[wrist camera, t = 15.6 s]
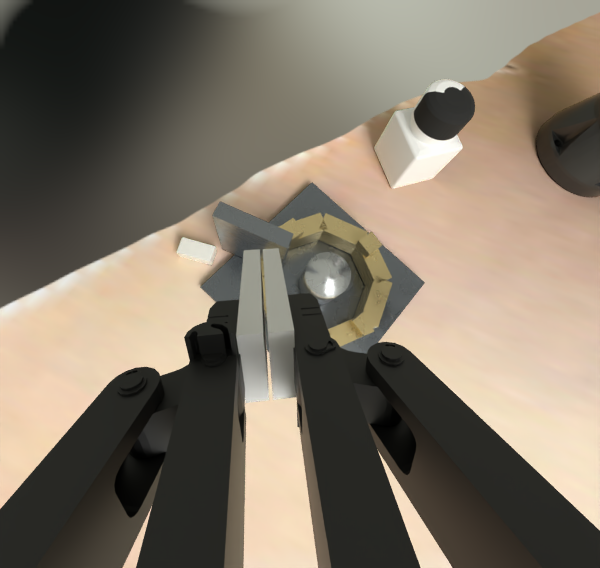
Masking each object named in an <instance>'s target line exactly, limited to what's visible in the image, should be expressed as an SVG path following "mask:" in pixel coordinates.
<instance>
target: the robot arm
mask: <svg viewBox="0 0 600 568" xmlns="http://www.w3.org/2000/svg"><path fill="white" fill-rule="evenodd" d="M537 152H538V155H539V158H540V161H541V163H542V165H543V167H544V168H545V170H546V171H547V173H548V174H549V175H550V176H551V177H552V179H553V180H554V181H555V182H557V183H558V184H559V185H560V186H562V187H563V188H565V189H566V190H568V191H570V192H572V193H574V194H577V195H580V196H584V197H598V196H600V93H598V94H596V95H594V96H592V97H590V98H587V99H585V100H583V101H581V102H579V103H577V104H574V105H572V106H570V107H568V108H566V109H564V110H562V111H560V112H558V113H557V114H556V115H554V116H553V117H552V118H551V119H549V120H548V121H547V122H546V123H544V124H543V125H542V127H541V128H540V130H539V132H538V135H537ZM263 262H264V278H265V294H266V310H267V326H268V340H269V353H270V365H271V378H272V391H273V400H275V399H283V398H292V397H296V396H297V421H298V427H299V428H300V435H301V443H302V450H303V457H304V465H305V472H306V480H307V487H308V495H309V502H310V509H311V517H312V524H313V532H314V539H315V546H316V554H317V561H318V568H420V565H419V562H418V560H417V557H416V554H415V551H414V549H413V546H412V543H411V541H410V538H409V535H408V532H407V530H406V527H405V524H404V521H403V519H402V516H401V513H400V510H399V508H398V505H397V502H396V499H395V497H394V494H393V491H392V488H391V486H390V483H389V480H388V477H387V475H386V472H385V469H384V466H383V464H382V461H381V458H380V456H379V453H378V451H379V452H380V454H381V456H382V457H383V459H384V460H385V462H386V463H387V465H388V467H389V468H390V470H391V471H392V473H393V475H394V476H395V478H396V479H397V481H398V482H399V484H400V486H401V487H402V489H403V490H404V492H405V493H406V495H407V497H408V498H409V500H410V501H411V503H412V504H413V506H414V508H415V509H416V511H417V512H418V514H419V515H420V517H421V519H422V520H423V522H424V523H425V525H426V526H427V528H428V530H429V531H430V533H431V534H432V536H433V537H434V539H435V541H436V542H437V544H438V545H439V547H440V548H441V550H442V552H443V553H444V555H445V556H446V558H447V559H448V561H449V563H450V564H451V566H452V567H453V568H600V531H599V530H598V529H597V528H596V527H595V526H594V525H593V524H592V523H591V522H590V521H589V520H588V519H587V518H586V517H585V516H584V515H583V514H581V513H580V512H579V511H578V510H577V509H576V508H575V507H574V506H573V505H572V504H571V503H570V502H569V501H568V500H567V499H566V498H565V497H564V496H562V495H561V494H560V493H559V492H558V491H557V490H556V489H555V488H554V487H553V486H552V485H551V484H550V483H549V482H548V481H547V480H546V479H544V478H543V477H542V476H541V475H540V474H539V473H538V472H537V471H536V470H535V469H534V468H533V467H532V466H531V465H530V464H529V463H528V462H527V461H525V460H524V459H523V458H522V457H521V456H520V455H519V454H518V453H517V452H516V451H515V450H514V449H513V448H512V447H511V446H510V445H509V444H508V443H506V442H505V441H504V440H503V439H502V438H501V437H500V436H499V435H498V434H497V433H496V432H495V431H494V430H493V429H492V428H491V427H490V426H488V425H487V424H486V423H485V422H484V421H483V420H482V419H481V418H480V417H479V416H478V415H477V414H476V413H475V412H474V411H473V410H472V409H471V408H469V407H468V406H467V405H466V404H465V403H464V402H463V401H462V400H461V399H460V398H459V397H458V396H457V395H456V394H455V393H454V392H453V391H452V390H450V389H449V388H448V387H447V386H446V385H445V384H444V383H443V382H442V381H441V380H440V379H439V378H438V377H437V376H436V375H435V374H434V373H433V372H431V371H430V370H429V369H428V368H427V367H426V366H425V365H424V364H423V363H422V362H421V361H420V360H419V359H418V358H417V357H416V356H415V355H413V354H412V353H411V352H410V351H409V350H408V349H406V348H405V347H403V346H401V345H398V344H396V343H390V342H381V343H376V344H374V345H372V346H371V347H370V348H369V350H368V351H367V353H359V352H353V351H348V350H345V349H343V348H341V347H340V346H339V344H338V343H337V341H336V340H334V339H333V338H331V337H330V334H329V331H328V328H327V325H326V322H325V320H324V317H323V314H322V311H321V308H320V306H319V303H318V300H317V299H316V298H315V297H314V296H313V295H312V294H310V293H304V294H292V295H287V290H286V284H285V279H284V274H283V269H282V263H281V258H280V253H279V248H274V249H263ZM184 338H185V342H186V346H187V351H188V355H189V359H190V362H189V365H187V366H185V367H183V368H182V369H179V370H177V371H174V372H171V373H168V374H165V375H162V376H160V374H159V373H158V372H157V371H156V370H155V369H153V368H149V367H139V368H134V369H131V370H128V371H126V372H124V373H122V374H120V375H118V376H117V377H116V378H114V379H113V380H112V381H111V382H110V383H109V384H108V385H107V386H106V387H105V388H104V390H103V391H102V392H101V393H100V394H99V395H98V397H97V398H96V399H95V400H94V401H93V402H92V404H91V405H90V406H89V407H88V408H87V409H86V410H85V412H84V413H83V414H82V415H81V416H80V417H79V419H78V420H77V421H76V422H75V423H74V424H73V426H72V427H71V428H70V429H69V430H68V431H67V433H66V434H65V435H64V436H63V437H62V438H61V439H60V441H59V442H58V443H57V444H56V445H55V446H54V448H53V449H52V450H51V451H50V452H49V453H48V455H47V456H46V457H45V458H44V459H43V460H42V461H41V463H40V464H39V465H38V466H37V467H36V468H35V470H34V471H33V472H32V473H31V474H30V475H29V477H28V478H27V479H26V480H25V481H24V482H23V483H22V485H21V486H20V487H19V488H18V489H17V490H16V492H15V493H14V494H13V495H12V496H11V497H10V499H9V500H8V501H7V502H6V503H5V504H4V506H3V507H2V508H1V509H0V568H122V567H123V565H124V563H125V561H126V559H127V557H128V555H129V553H130V551H131V549H132V546H133V544H134V542H135V540H136V538H137V536H138V534H139V532H140V530H141V527H142V525H143V523H144V521H145V519H146V517H147V515H148V513H149V511H150V509H151V506H152V509H151V512H150V516H149V520H148V524H147V528H146V532H145V536H144V539H143V543H142V547H141V551H140V555H139V559H138V563H137V566H136V568H243V559H244V503H245V448H246V413H245V407H244V404H245V402H246V403H249V402H257V401H266V400H269V389H268V370H267V350H266V330H265V311H264V294H263V282H262V270H261V257H260V249H257V250H244V253H243V264H242V276H241V287H240V298H239V300H226V301H217V302H216V303H215V304H214V305H213V306H212V307H211V308H210V310H209V314H208V319H207V322H205V323H202V324H199V325H197V326H195V327H193V328H192V329H191V330H189V331H188V332H187V334H186V335H185V337H184ZM377 449H378V450H377ZM152 504H153V505H152Z"/></svg>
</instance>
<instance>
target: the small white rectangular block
mask: <svg viewBox="0 0 600 568" xmlns="http://www.w3.org/2000/svg"><path fill="white" fill-rule="evenodd" d="M216 252H217V249H216V247H215V246H212V245H209V244H205V243H202V242H198V241H195V240H191V239H187V238H184V237H182V239H181V242H180V244H179V247H178V250H177V254H178V255H179V256H180V257H183V258H187V259H190V260H194V261H198V262H201V263H205V264H209V265H212V264H213V261H214V258H215V255H216Z"/></svg>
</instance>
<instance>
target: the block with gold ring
mask: <svg viewBox="0 0 600 568" xmlns="http://www.w3.org/2000/svg"><path fill="white" fill-rule="evenodd" d="M212 216H213V220H214V223H215V226H216V230H217V233H218V236H219V240H220V243H221V246H222V249H223V250H225V251H228V252H230V253H232V254H235V255H237V256H239V257H242V258H243V253H244V250H257V249H260V257H261V270H262V282H263V294H264V311H265V317H266V320H267V310H266V294H265V278H264V262H263V249H274V248H279V253H280V258H281V263H282V267H283V265H284V263H285V260H286V257H287V253H288V250H291V249H293V248H296V247H299V246H302V245H305V244H308V243H311V242H313V241H316V240H320V241H322V242H325V243H327V244H329V245H331V246H334V247H336V248H338V249H340V250H343V251H345V252H347V253H350V254H351V256H352V258H353V261H354V263H355V265H356V267H357V269H358V271H359V274H360V276H361V278H362V280H363V282H364V284H365V287H364V290H363V293H362V295H361V298H360V301H359V304H358V307H357V310H356V312H355V315H354V318H353V319H351V320H348V321H346V322H344V323H341V324H339V325H337V326H334V327H332V328H329V329H328V331H329V334H330V337H331V338H333V339H334V340H336V341H337V343H338V344H339V346H340V347H341V346H343V345H345V344H347V343H350V342H352V341H354V340H356V339H358V338H361V337H363V336H365V335H367V334H370V333H372V332H374V329H373V328H377V327H378V326H379V323H380V320H381V317H382V314H383V311H384V308H385V305H386V301H387V298H388V295H389V292H390V289H391V286H392V282H389V281H387V280H389V279H390V278H392V276H391V274H390V272H389V270H388V268H387V266H386V264H385V262H384V260H383V257H382V255H381V253H380V251H379V248H380V247H381V246H382V244H381V243H380V241H379V240H378V239H377V238H376V237H375V235H374V234H373V233H372V232H370V233H369V234H368V235H367V233H368V232H367V231H365V230H363V229H361V228H358V227H356V226H354V225H352V224H349V223H347V222H345V221H343V220H340V219H338V218H336V217H334V216H331V215H329V214H327V213H325V215H324V217H322V215H321V213H318V214H315V215H312V216H309V217H306V218H303V219H300V220H297V221H296V220H295V219H294V218H292V219H290V220H289V221H287V222H286V223H284V224H283V225H281V226H278V227H277V226H275V225H273V224H270V223H268V222H266V221H263V220H261V219H259V218H257V217H254V216H252V215H250V214H247V213H245V212H243V211H241V210H238V209H236V208H234V207H232V206H229V205H227V204H225V203H222V202H219V204H218V206H217V208H216V210H215V211H214V213H213V215H212Z"/></svg>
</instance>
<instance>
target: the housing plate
mask: <svg viewBox="0 0 600 568" xmlns="http://www.w3.org/2000/svg"><path fill="white" fill-rule="evenodd" d="M318 213H321V215H322V217H324V215H325V213H327V214H329V215H331V216H334V217H336V218H338V219H340V220H343V221H345V222H347V223H349V224H352V225H354V226H356V227H358V228H361V229H363V230H365V229H364V228H363V227H362V226H361V225H359V224H358V223H357V222H356V221H355V220H354V219H353V218H352V217H350V216H349V215H348V214H347V213H346V212H345V211H344V210H343V209H341V208H340V207H339V206H338V205H337V204H336V203H335V202H334V201H332V200H331V199H330V198H329V197H328V196H327V195H326V194H325V193H323V192H322V191H321V190H320V189H319V188H318V187H317V186H316V185H314V184H313V183H311V184H310V185H309V186H308V187H306V188H305V189H304V190H303V191H302V192H301V193H300V194H299V195H298V196H297V197H296V198H295V199H294V200H293V201H292V202H290V203H289V204H288V205H287V206H286V207H285V208H284V209H283V210H282V211H281V212H280V213H279V214H278V215H277V216H276V217H274V218H273V219H272V220H271V221H270V222H269V223H270V224H273V225H275V226H277V227H278V226H281V225H283V224H284V223H286V222H287V221H289V220H290V219H292V218H294V219H295V220H296V221H297V220H300V219H303V218H306V217H309V216H312V215H315V214H318ZM365 231H366V230H365ZM368 234H369V233H367V235H368ZM379 251H380V253H381V255H382V257H383V260H384V262H385V264H386V266H387V268H388V270H389V272H390V274H391V276H392V278H390V279H389V280H387V281H389V282H392V286H391V289H390V292H389V295H388V298H387V301H386V305H385V308H384V311H383V314H382V317H381V320H380V323H379V326H378V327H377V328H373V329H374V332H372V333H370V334H367V335H365V336H363V337H361V338H358V339H356V340H354V341H352V342H350V343H347V344H345V345H343V346H341V348H343V349H345V350H348V351H353V352H359V353H367V351H368V350H369V348H370V347H371V346H372V345H374V344H376V343H378V342H379V340H380V339H381V338H382V336H383V335H384V334H385V333H386V331H387V330H388V329H389V328H390V326H391V325H392V324H393V322H394V321H395V320H396V319H397V317H398V316H399V315H400V314H401V312H402V311H403V310H404V309H405V307H406V306H407V305H408V303H409V302H410V301H411V300H412V298H413V297H414V296H415V295H416V293H417V292H418V291H419V289H420V288H421V287H422V286H423V284H424V283H425V282H424V281H422V280H421V279H420V278H419V277H418V276H417V275H416V274H415V273H413V272H412V271H411V270H410V269H409V268H408V267H407V266H406V265H404V264H403V263H402V262H401V261H400V260H399V259H398V258H397V257H395V256H394V255H393V254H392V253H391V252H390V251H389V250H388V249H386V248H385V247H384V246H383V245H382V246H381V247H380V248H379ZM242 264H243V258H242V257H239V256H237V255H234V256H233V257H232V258H231V259H230V260H229V261H228V262H227V263H225V264H224V265H223V266H222V267H221V268H220V269H219V270H218V271H217V272H216V273H215V274H214V275H213V276H212V277H211V278H209V279H208V280H207V281H206V282H205V283H204V284H203V285H202V286H201V288H202V289H203V290H204V291H205V292H206V293H207V294H208V295H209V296H210V297H211V298H212V299H213V300H214V301H215V302H217V301H226V300H239V298H240V287H241V276H242ZM282 269H283V274H284V279H285V284H286V290H287V295H292V294H304V293H310V294H312V295H313V296H314V297H315V298H316V299H317V300H318V303H319V306H320V308H321V311H322V314H323V317H324V320H325V322H326V325H327V328H328V329H329V328H332V327H334V326H337V325H339V324H341V323H344V322H346V321H348V320H351V319H353V318H354V315H355V312H356V310H357V307H358V304H359V301H360V298H361V295H362V293H363V290H364V287H365V284H364V282H363V280H362V278H361V276H360V274H359V271H358V269H357V267H356V265H355V263H354V261H353V258H352V256H351V254H350V253H347V252H345V251H343V250H340V249H338V248H336V247H334V246H331V245H329V244H327V243H325V242H322V241H320V240H316V241H313V242H311V243H308V244H305V245H302V246H299V247H296V248H293V249H291V250H288V253H287V257H286V260H285V263H284V265H283V267H282ZM265 330H266V350H268V351H269V340H268V326H267V320H266V317H265Z"/></svg>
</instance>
